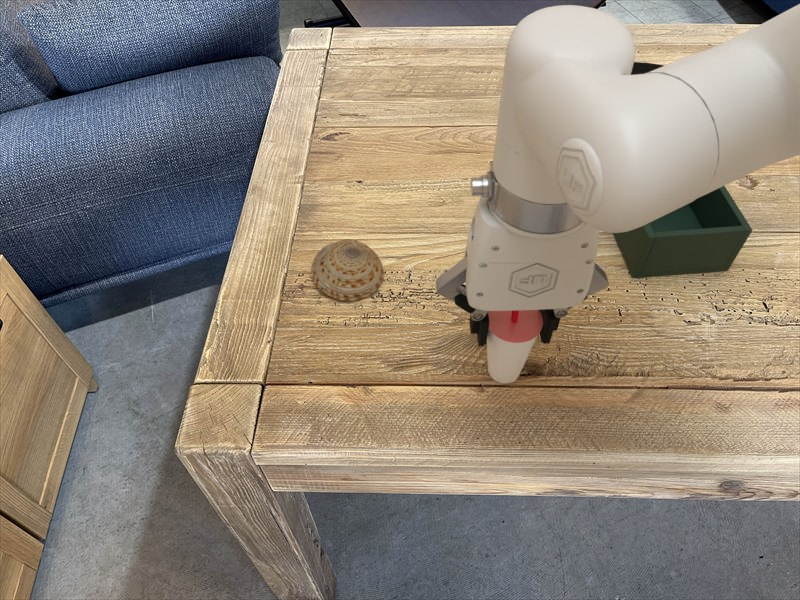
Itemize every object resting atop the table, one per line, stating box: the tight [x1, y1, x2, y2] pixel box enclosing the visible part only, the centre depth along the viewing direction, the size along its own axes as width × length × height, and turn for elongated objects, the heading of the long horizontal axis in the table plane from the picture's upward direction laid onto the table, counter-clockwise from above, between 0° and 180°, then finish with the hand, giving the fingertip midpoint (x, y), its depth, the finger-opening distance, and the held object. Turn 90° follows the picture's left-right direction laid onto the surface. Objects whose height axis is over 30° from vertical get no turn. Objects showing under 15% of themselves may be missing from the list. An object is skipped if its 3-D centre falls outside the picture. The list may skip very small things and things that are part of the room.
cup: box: [486, 310, 543, 384], centre depth 59 cm, size 5×5×12 cm
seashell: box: [310, 238, 384, 302], centre depth 71 cm, size 8×6×8 cm
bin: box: [612, 185, 753, 279], centre depth 72 cm, size 12×12×7 cm
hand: (511, 331), depth 58 cm, fingers closed on cup, 5 cm apart
